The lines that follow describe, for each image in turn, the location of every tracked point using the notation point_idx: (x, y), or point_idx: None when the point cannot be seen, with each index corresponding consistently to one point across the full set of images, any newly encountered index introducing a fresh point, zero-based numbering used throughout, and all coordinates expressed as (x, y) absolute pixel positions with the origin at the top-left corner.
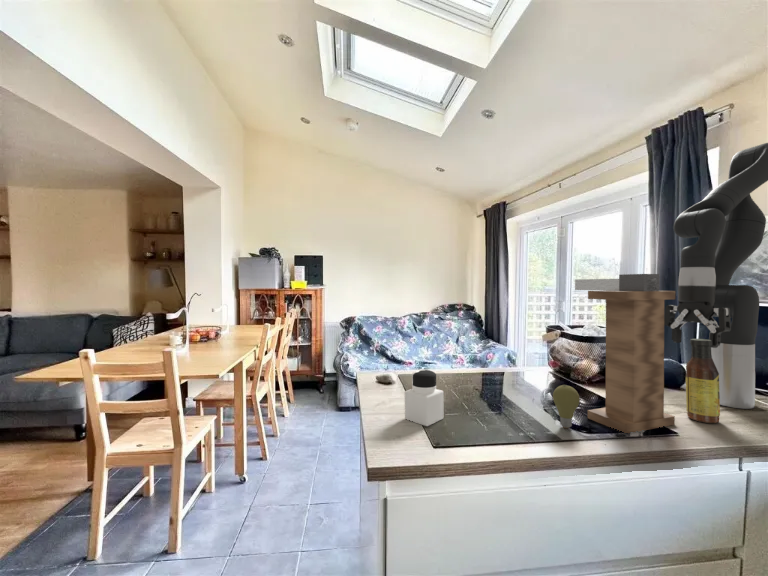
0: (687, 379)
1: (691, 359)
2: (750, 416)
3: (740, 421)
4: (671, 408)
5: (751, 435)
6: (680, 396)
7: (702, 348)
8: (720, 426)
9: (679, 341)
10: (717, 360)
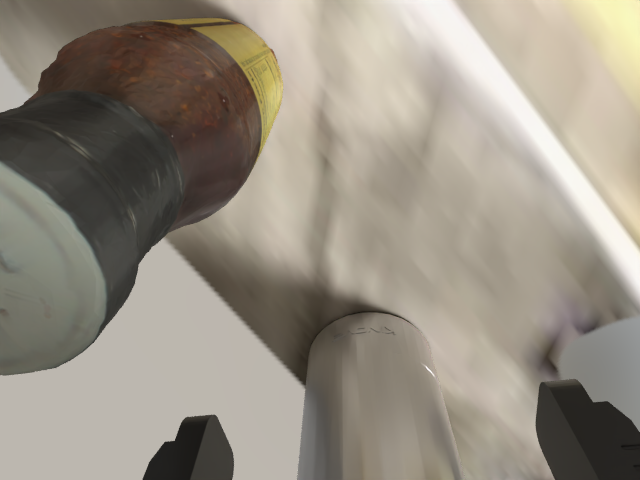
0: (197, 29)
1: (134, 84)
2: (249, 294)
3: None
4: (379, 83)
5: None
6: (492, 277)
7: None
8: None
9: (543, 428)
10: (391, 475)
